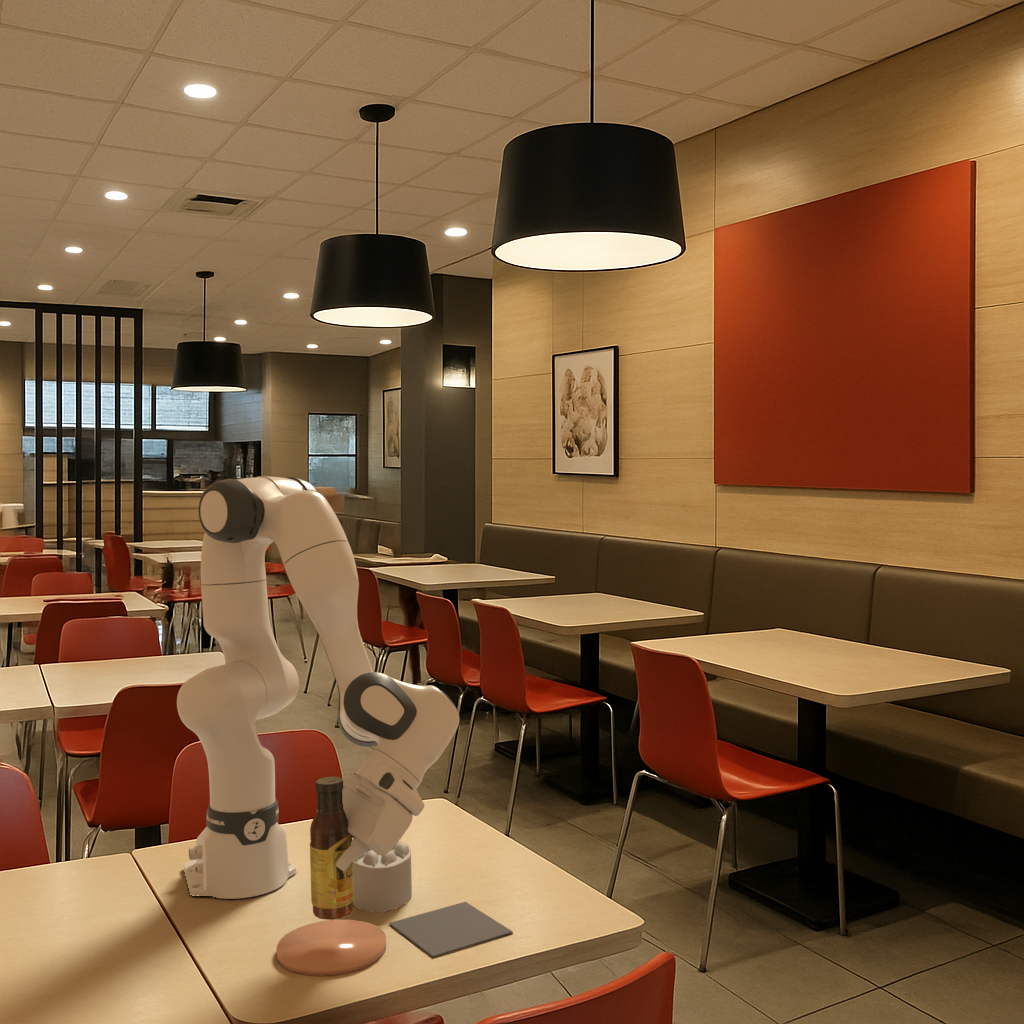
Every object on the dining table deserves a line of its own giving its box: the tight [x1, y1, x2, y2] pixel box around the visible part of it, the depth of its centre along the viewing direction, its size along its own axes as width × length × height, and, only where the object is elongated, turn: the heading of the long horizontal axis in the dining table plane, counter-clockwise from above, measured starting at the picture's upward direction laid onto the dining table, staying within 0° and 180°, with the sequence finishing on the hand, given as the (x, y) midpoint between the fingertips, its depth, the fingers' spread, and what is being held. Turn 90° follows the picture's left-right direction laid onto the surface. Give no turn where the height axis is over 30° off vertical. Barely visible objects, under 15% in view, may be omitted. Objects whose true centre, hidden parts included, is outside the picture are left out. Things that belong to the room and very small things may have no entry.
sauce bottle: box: [309, 776, 354, 920], centre depth 149 cm, size 7×6×20 cm
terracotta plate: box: [276, 919, 387, 977], centre depth 149 cm, size 16×16×1 cm
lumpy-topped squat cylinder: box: [353, 840, 413, 913], centre depth 169 cm, size 10×13×9 cm
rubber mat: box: [389, 901, 514, 959], centre depth 156 cm, size 14×14×1 cm
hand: (327, 860), depth 149 cm, fingers closed on sauce bottle, 6 cm apart
